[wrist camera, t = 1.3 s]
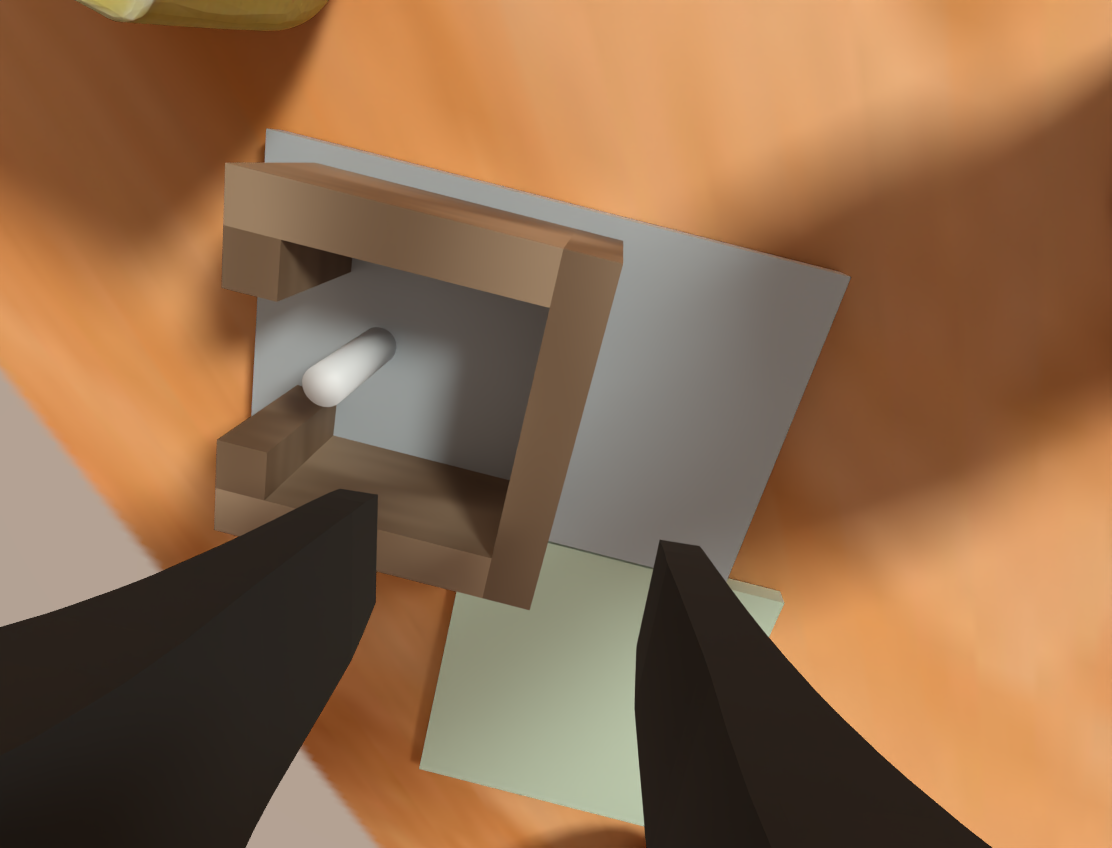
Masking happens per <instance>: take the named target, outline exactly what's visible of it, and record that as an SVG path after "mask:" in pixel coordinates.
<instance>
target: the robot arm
mask: <svg viewBox="0 0 1112 848" xmlns="http://www.w3.org/2000/svg"><path fill="white" fill-rule="evenodd" d="M377 518H378V495H377V494H371V493H365V492H359V491H352V490H346V489H337V490H335V491H332V492H330V493H327V494H325V495H323V496H321V497H319V498H317V499H314V500H312V501H310V502H308V503H306V504H304V505H302V506H300V507H298V508H296V509H294V510H292V511H290V512H288V513H286V514H284V515H282V516H280V517H278V518H276V519H274V520H272V521H270V522H268V523H266V524H264V525H262V526H260V527H258V528H256V529H253V530H251V531H249V532H247V533H245V534H243V535H241V536H239V537H237V538H235V539H233V540H231V541H229V542H227V543H225V544H222V545H220V546H218V547H215V548H213V549H211V550H209V551H206V552H204V553H202V554H200V555H197V556H195V557H193V558H191V559H188V560H186V561H184V562H181V563H179V564H177V565H175V566H172V567H170V568H168V569H166V570H163V571H161V572H159V573H156V574H154V575H152V576H149V577H147V578H144V579H142V580H139V581H137V582H134V583H131V584H129V585H126V586H124V587H121V588H119V589H116V590H113V591H110V592H107V593H105V594H102V595H99V596H96V597H93V598H90V599H88V600H85V601H82V602H79V603H76V604H74V605H71V606H68V607H65V608H62V609H59V610H56V611H53V612H50V613H47V614H43V615H40V616H37V617H34V618H30V619H26V620H23V621H20V622H16V623H13V624H9V625H6V626H3V627H0V848H245V847H246V845H247V843H248V841H249V839H250V837H251V835H252V833H253V830H254V829H255V827H256V824H257V823H258V821H259V819H260V817H261V816H262V814H263V811H264V810H265V808H266V806H267V804H268V802H269V801H270V799H271V797H272V795H273V793H274V792H275V790H276V788H277V787H278V785H279V783H280V781H281V780H282V778H283V776H284V775H285V773H286V771H287V770H288V768H289V766H290V764H291V762H292V761H293V759H294V758H295V756H296V754H297V753H298V751H299V749H300V747H301V746H302V744H303V742H304V741H305V739H306V737H307V736H308V734H309V732H310V730H311V729H312V727H313V725H314V724H315V722H316V720H317V719H318V717H319V715H320V714H321V712H322V710H323V708H324V707H325V705H326V703H327V702H328V700H329V698H330V696H331V695H332V693H333V691H334V689H335V688H336V686H337V684H338V683H339V681H340V679H341V677H342V676H343V674H344V672H345V670H346V669H347V667H348V665H349V663H350V662H351V660H352V658H353V655H354V653H355V651H356V648H357V646H358V644H359V642H360V639H361V637H362V635H363V632H364V630H365V627H366V625H367V623H368V620H369V618H370V615H371V613H372V610H373V608H374V605H375V603H376V563H377ZM634 710H635V723H636V735H637V747H638V759H639V770H640V782H641V793H642V804H643V816H644V827H645V839H646V848H992V847H991V846H989V845H988V844H987V843H985V842H984V841H983V840H982V839H980V838H979V837H978V836H976V835H975V834H974V833H973V832H971V831H970V830H969V829H968V828H966V827H965V826H964V825H963V824H961V823H960V822H959V821H958V820H957V819H955V818H954V817H953V816H952V815H951V814H949V813H948V812H947V811H946V810H945V809H943V808H942V807H941V806H940V805H939V804H937V803H936V802H935V801H934V800H933V799H931V798H930V797H929V796H928V795H927V794H925V793H924V792H923V791H922V790H921V789H919V788H918V787H917V786H916V785H915V784H913V783H912V782H911V781H910V780H909V779H907V778H906V777H905V776H904V775H903V774H902V773H901V772H900V771H898V770H897V769H896V768H895V767H894V766H893V765H892V764H891V763H889V762H888V761H887V760H886V759H885V758H884V757H883V756H882V755H881V754H879V753H878V752H877V751H876V750H875V749H874V748H873V747H872V746H871V745H870V744H869V743H868V742H867V741H866V740H865V739H864V738H863V737H862V736H861V735H860V734H859V733H858V732H856V731H855V730H854V729H853V728H852V727H851V726H850V725H849V724H848V723H847V722H846V721H845V720H844V719H843V718H842V717H841V716H840V715H839V714H838V713H837V712H836V711H835V710H834V709H833V708H832V707H831V706H830V705H829V704H828V703H827V702H826V701H825V700H824V699H823V698H822V697H821V696H820V695H819V694H818V693H817V692H816V691H815V689H814V688H813V687H812V686H811V685H810V684H809V683H808V682H807V681H806V679H805V678H804V677H803V676H802V675H801V674H800V673H799V672H798V671H797V669H796V668H795V667H794V666H793V665H792V664H791V663H790V662H789V661H788V659H787V658H786V657H785V656H784V655H783V654H782V652H781V651H780V650H779V649H778V648H777V647H776V645H775V644H774V643H773V642H772V641H771V639H770V638H769V637H768V636H767V634H766V633H765V632H764V631H763V630H762V628H761V627H760V626H759V625H758V623H757V622H756V621H755V620H754V618H753V617H752V616H751V614H750V613H749V612H748V611H747V609H746V608H745V607H744V605H743V604H742V603H741V601H740V600H739V599H738V597H737V596H736V595H735V593H734V592H733V591H732V589H731V588H730V587H729V585H728V584H727V582H726V581H725V580H724V578H723V577H722V576H721V574H720V573H719V571H718V570H717V569H716V567H715V566H714V565H713V563H712V562H711V560H710V559H709V558H708V556H707V555H706V553H705V552H704V551H703V549H702V548H701V547H700V546H697V545H690V544H684V543H678V542H672V541H665V540H659V545H658V549H657V554H656V558H655V563H654V568H653V572H652V577H651V581H650V586H649V591H648V595H647V600H646V604H645V609H644V613H643V618H642V623H641V627H640V632H639V636H638V641H637V645H636V669H635V703H634Z"/></svg>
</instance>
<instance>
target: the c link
mask: <svg viewBox="0 0 1112 848" xmlns="http://www.w3.org/2000/svg"><path fill="white" fill-rule="evenodd" d="M352 258H355V259H359V260H363V261H367V262H371V263H375V264H379V265H383V266H387V267H391V268H395V269H398V270H402V271H406V272H410V273H414V274H418V275H422V276H426V277H430V278H434V279H438V280H442V281H446V282H450V283H454V284H457V285H461V286H465V287H469V288H473V289H477V290H481V291H485V292H489V293H493V294H497V295H501V296H505V297H509V298H512V299H516V300H520V301H524V302H528V303H532V304H536V305H540V306H544V307H548V308H550V309H549V313H548V318H547V322H546V326H545V330H544V335H543V339H542V343H541V348H540V352H539V356H538V361H537V365H536V369H535V374H534V378H533V382H532V387H531V391H530V395H529V399H528V404H527V408H526V412H525V417H524V421H523V425H522V430H521V434H520V438H519V443H518V447H517V451H516V455H515V460H514V464H513V468H512V473H511V477H510V480H506V479H503V478H499V477H495V476H491V475H487V474H483V473H479V472H475V471H471V470H467V469H463V468H459V467H455V466H452V465H448V464H444V463H440V462H436V461H432V460H428V459H424V458H420V457H416V456H412V455H408V454H404V453H400V452H397V451H393V450H389V449H385V448H381V447H377V446H373V445H369V444H365V443H361V442H357V441H353V440H349V439H346V438H342V437H338V436H334V435H333V434H334V425H335V415H336V406H337V405H335V406H332V407H322V406H319V405H317V404H315V403H313V402H312V401H311V400H310V399H309V398H308V397H307V396H306V394H305V392H304V390H303V387H302V386H299V385H297V386H295V387H294V388H292V389H291V390H289V391H288V392H286V393H285V394H283V395H282V396H280V397H279V398H277V399H276V400H275V401H273V402H272V403H270V404H269V405H267V406H266V407H264V408H263V409H261V410H260V411H258V412H257V413H256V414H254V415H253V416H251V417H250V418H248V419H247V420H245V421H244V422H242V423H241V424H239V425H238V426H236V427H235V428H234V429H232V430H231V431H229V432H228V433H226V434H225V435H223V436H222V437H220V438H219V439H217V454H216V487H215V521H214V530H216V531H220V532H224V533H228V534H232V535H236V536H241V535H243V534H245V533H247V532H249V531H251V530H253V529H256V528H258V527H260V526H262V525H264V524H266V523H268V522H270V521H272V520H274V519H276V518H278V517H280V516H282V515H284V514H286V513H288V512H290V511H292V510H294V509H296V508H298V507H300V506H302V505H304V504H306V503H308V502H310V501H312V500H314V499H317V498H319V497H321V496H323V495H325V494H327V493H330V492H332V491H335V490H337V489H346V490H352V491H359V492H365V493H371V494H377V495H378V518H377V563H376V571H377V572H381V573H385V574H389V575H393V576H397V577H401V578H405V579H409V580H412V581H416V582H420V583H424V584H428V585H432V586H436V587H440V588H444V589H448V590H452V591H456V592H460V593H463V594H467V595H471V596H475V597H479V598H483V599H487V600H491V601H495V602H499V603H503V604H507V605H511V606H514V607H518V608H522V609H526V610H530V608H531V604H532V600H533V596H534V593H535V589H536V585H537V582H538V578H539V574H540V570H541V567H542V563H543V559H544V556H545V552H546V548H547V545H548V541H549V537H550V533H551V530H552V526H553V522H554V519H555V515H556V511H557V507H558V504H559V500H560V496H561V493H562V489H563V485H564V482H565V478H566V474H567V470H568V467H569V463H570V459H571V456H572V452H573V448H574V444H575V441H576V437H577V433H578V430H579V426H580V422H581V418H582V415H583V411H584V407H585V404H586V400H587V396H588V393H589V389H590V385H591V381H592V378H593V374H594V370H595V367H596V363H597V359H598V355H599V352H600V348H601V344H602V341H603V337H604V333H605V330H606V326H607V322H608V318H609V315H610V311H611V307H612V304H613V300H614V296H615V292H616V289H617V285H618V281H619V278H620V274H621V270H622V267H623V241H622V240H618V239H614V238H610V237H606V236H602V235H599V234H595V233H591V232H587V231H583V230H579V229H575V228H571V227H567V226H563V225H559V224H555V223H551V222H547V221H543V220H539V219H536V218H532V217H528V216H524V215H520V214H516V213H512V212H508V211H504V210H500V209H496V208H492V207H488V206H484V205H480V204H477V203H473V202H469V201H465V200H461V199H457V198H453V197H449V196H445V195H441V194H437V193H433V192H429V191H425V190H421V189H417V188H414V187H410V186H406V185H402V184H398V183H394V182H390V181H386V180H382V179H378V178H374V177H370V176H366V175H362V174H358V173H355V172H351V171H347V170H343V169H339V168H335V167H331V166H327V165H323V164H319V163H225V188H224V221H223V254H222V288H224V289H228V290H232V291H236V292H240V293H244V294H248V295H252V296H256V297H260V298H264V299H268V300H271V301H275V302H278V301H280V300H283V299H285V298H288V297H290V296H293V295H295V294H298V293H300V292H303V291H305V290H308V289H310V288H313V287H315V286H318V285H320V284H323V283H325V282H328V281H330V280H332V279H335V278H337V277H340V276H342V275H345V274H347V273H350V272H351V267H352Z"/></svg>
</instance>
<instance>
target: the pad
mask: <svg viewBox="0 0 1112 848" xmlns="http://www.w3.org/2000/svg"><path fill="white" fill-rule="evenodd" d="M652 572H653V568H652V567H649V566H645V565H641V564H637V563H633V562H629V561H625V560H621V559H617V558H613V557H609V556H605V555H601V554H598V553H594V552H590V551H586V550H582V549H578V548H574V547H570V546H566V545H562V544H558V543H554V542H550V541H548V545H547V548H546V552H545V556H544V559H543V563H542V567H541V570H540V574H539V578H538V582H537V585H536V589H535V593H534V596H533V600H532V604H531V608H530V610H526V609H522V608H518V607H514V606H511V605H507V604H503V603H499V602H495V601H491V600H487V599H483V598H479V597H475V596H471V595H467V594H463V593H460V592H456V597H455V601H454V606H453V611H452V616H451V620H450V625H449V630H448V634H447V639H446V644H445V649H444V653H443V658H442V663H441V668H440V672H439V677H438V682H437V686H436V691H435V696H434V701H433V705H432V710H431V715H430V720H429V724H428V729H427V734H426V738H425V743H424V748H423V753H422V757H421V762H420V767H419V769H421V770H425V771H429V772H433V773H437V774H441V775H445V776H449V777H453V778H457V779H461V780H464V781H468V782H472V783H476V784H480V785H484V786H488V787H492V788H496V789H500V790H504V791H508V792H511V793H515V794H519V795H523V796H527V797H531V798H535V799H539V800H543V801H547V802H551V803H554V804H558V805H562V806H566V807H570V808H574V809H578V810H582V811H586V812H590V813H594V814H598V815H601V816H605V817H609V818H613V819H617V820H621V821H625V822H629V823H633V824H637V825H641V826H644V816H643V804H642V793H641V782H640V770H639V759H638V747H637V735H636V723H635V710H634V703H635V669H636V645H637V641H638V636H639V632H640V627H641V623H642V618H643V613H644V609H645V604H646V600H647V595H648V591H649V586H650V581H651V577H652ZM727 584H728V585H729V587H730V588H731V589H732V591H733V592H734V593H735V595H736V596H737V597H738V599H739V600H740V601H741V603H742V604H743V605H744V607H745V608H746V609H747V611H748V612H749V613H750V614H751V616H752V617H753V618H754V620H755V621H756V622H757V623H758V625H759V626H760V627H761V628H762V630H763V631H764V632H765V633H766V634H767V636H768V637H769V636H770V633H771V631H772V629H773V627H774V625H775V623H776V620H777V618H778V616H779V614H780V612H781V609H782V607H783V605H784V601H783V598H782V595H781V592H780V591H777V590H773V589H769V588H765V587H761V586H757V585H753V584H749V583H745V582H741V581H738V580H734V579H730V578H728V579H727Z"/></svg>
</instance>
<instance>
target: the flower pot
mask: <svg viewBox="0 0 1112 848" xmlns="http://www.w3.org/2000/svg"><path fill="white" fill-rule="evenodd" d="M75 1H77V2H79V3H81V4H83V5H85V6H87V7H89V8H90V9H92V10H94V11H96V12H98V13H99V14H101V15H103V16H105V17H106V18H109V19H111V20H114V21H118V22H129V23H141V24H156V25H170V26H185V27H200V28H215V29H234V30H257V31H278V30H285V29H289V28H293V27H296V26H298V25H301V24H302V23H304V22H306V21H308V20H309V19H311V18H313V17H314V16H315V15H316V14H317V13H318V12H319V11H320V10H321V9H322V8H323V7H324V6H325V5H326V4H327V2H328V0H75Z"/></svg>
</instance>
